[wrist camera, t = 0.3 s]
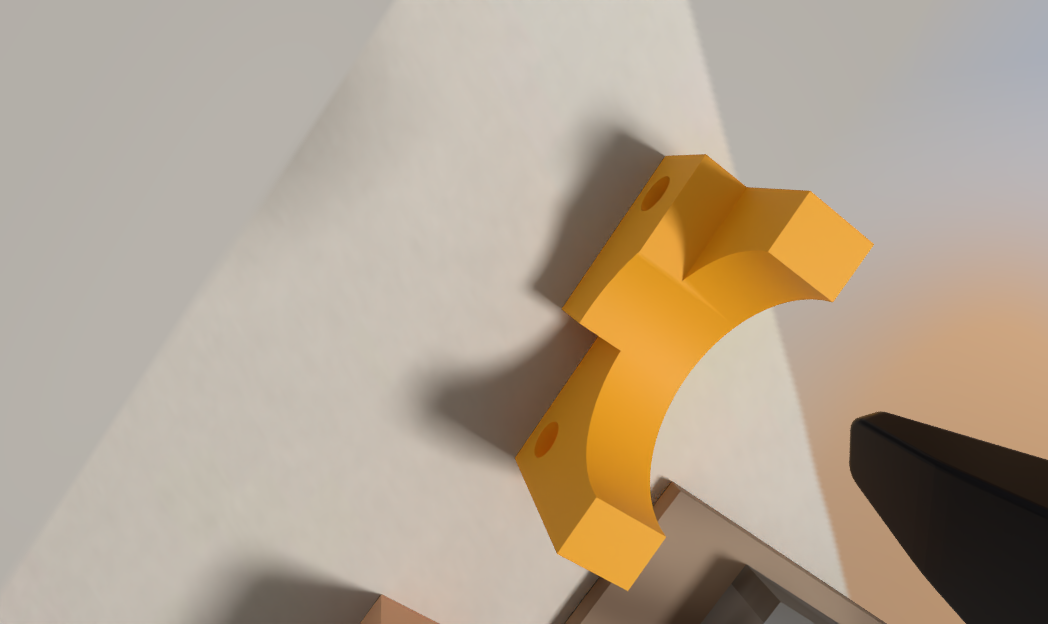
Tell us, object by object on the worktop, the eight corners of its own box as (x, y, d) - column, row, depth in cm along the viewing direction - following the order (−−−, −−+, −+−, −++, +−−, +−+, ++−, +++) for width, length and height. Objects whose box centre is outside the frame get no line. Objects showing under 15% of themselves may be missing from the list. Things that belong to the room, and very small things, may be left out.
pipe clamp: (663, 156, 23) (764, 151, 17) (750, 224, 24) (873, 244, 18) (474, 434, 24) (505, 526, 18) (568, 487, 25) (627, 591, 19)
